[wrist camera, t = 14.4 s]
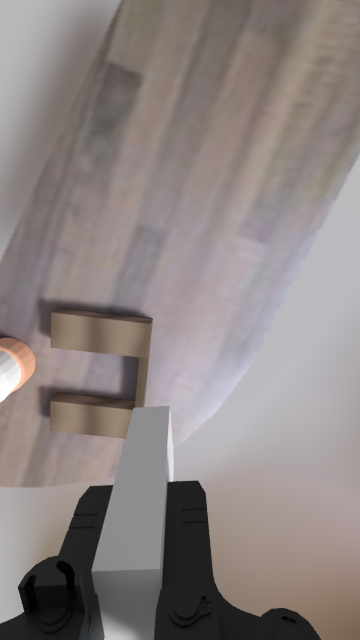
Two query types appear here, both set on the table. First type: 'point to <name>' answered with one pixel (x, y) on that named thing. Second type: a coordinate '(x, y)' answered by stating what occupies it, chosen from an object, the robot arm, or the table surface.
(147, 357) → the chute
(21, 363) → the salt shaker
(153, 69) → the table surface
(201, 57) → the table surface
